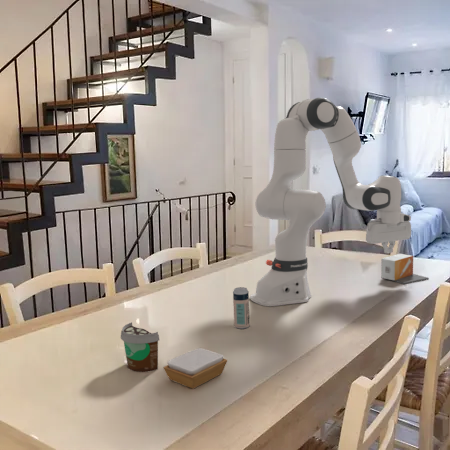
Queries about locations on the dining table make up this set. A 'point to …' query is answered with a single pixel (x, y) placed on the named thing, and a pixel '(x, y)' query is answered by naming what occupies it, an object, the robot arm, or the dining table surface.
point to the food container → (140, 348)
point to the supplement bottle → (241, 307)
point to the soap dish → (195, 367)
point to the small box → (396, 266)
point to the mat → (410, 279)
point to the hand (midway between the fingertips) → (388, 252)
